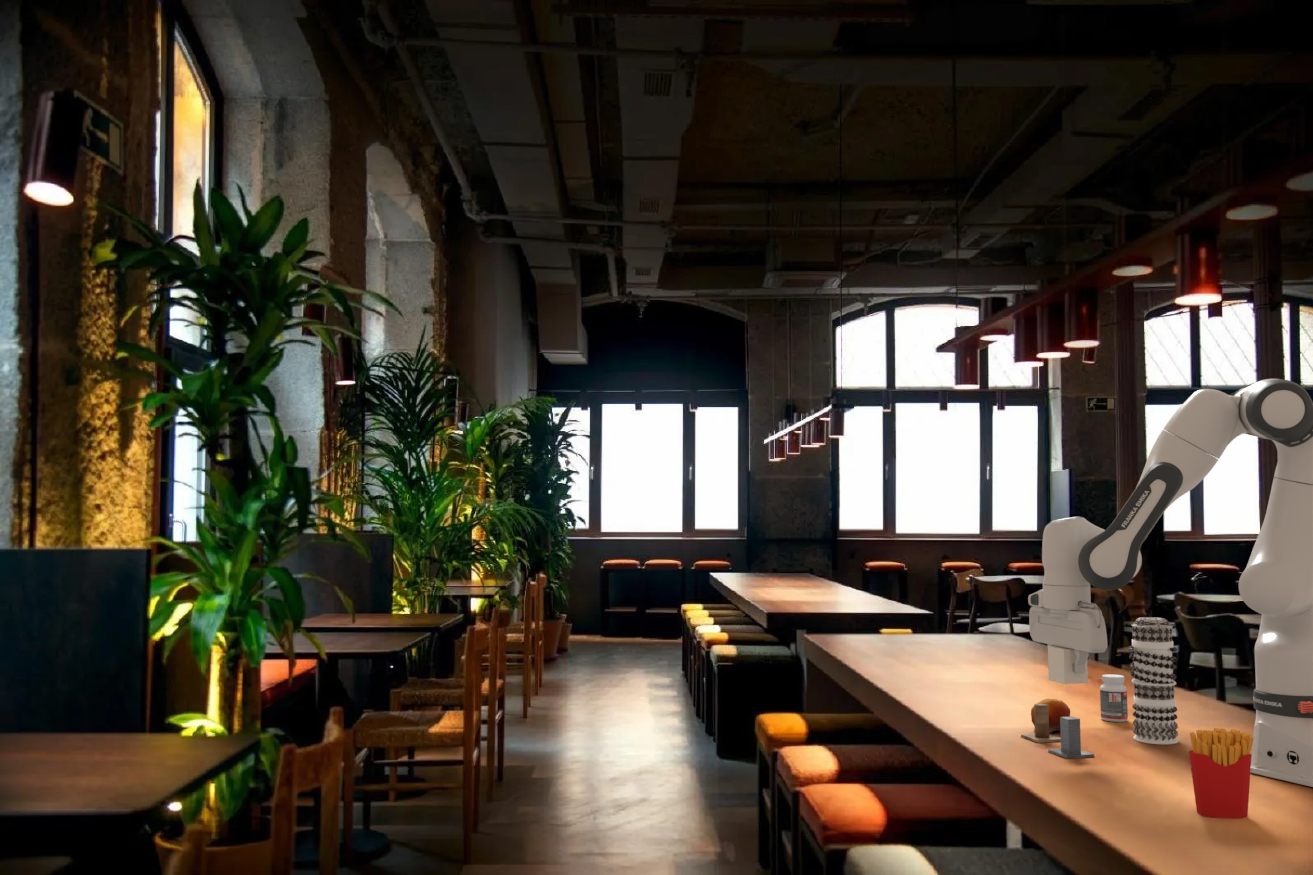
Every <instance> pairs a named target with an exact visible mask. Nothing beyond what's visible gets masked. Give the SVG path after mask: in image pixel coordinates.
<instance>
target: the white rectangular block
mask: <svg viewBox="0 0 1313 875" xmlns="http://www.w3.org/2000/svg"><path fill="white" fill-rule="evenodd" d="M1076 657H1077V656H1076V655H1075V650H1074V649H1069V648H1065V647H1060V646H1047V666H1048V667H1047V669H1048V670H1047V671H1048V672H1047V673H1048V676H1047V677H1048V678H1047V679H1048V681H1052V682H1055V683H1059V684H1064V685H1075V684H1076V685H1077V684H1089V674H1088V673H1089V670H1088V669H1089V668H1088V659H1087V661H1086V663H1085V673H1083V674H1078V673H1074V672H1073V671H1072V669H1073V667H1072V664H1073V663H1075V661H1076Z"/></svg>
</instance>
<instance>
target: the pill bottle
mask: <svg viewBox="0 0 1313 875" xmlns="http://www.w3.org/2000/svg"><path fill="white" fill-rule="evenodd" d="M1101 680H1102V682H1103V683H1102V684H1101V685H1100V686H1099V697H1100V698H1099V701H1100V702H1099V706H1100V719H1101V721H1102V720H1103V721H1106V722H1111V723H1112V722H1113V723H1124V722H1127V721H1128V720H1129V715H1128V714H1129V712H1128V690H1127V687H1126V686H1125V685H1124V683H1125V676H1124V675H1121V674H1110V673H1109V674H1107V673H1106V674H1102V675H1101Z"/></svg>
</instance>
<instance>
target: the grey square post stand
mask: <svg viewBox="0 0 1313 875" xmlns="http://www.w3.org/2000/svg"><path fill="white" fill-rule="evenodd" d="M1060 730H1061V731H1060V738H1061V741H1060V748H1052V749H1051V748H1050V749H1049V748H1048V749H1047V751H1048V752H1047V753H1050V754H1053V755H1055V756H1058V757H1061V758H1064V759H1066V760H1067V759H1079V758H1081V759H1082V758H1093V757H1095V754H1094V753H1092V752H1089V751H1087V750H1082V749H1081V748H1082V747H1081V746H1082V744H1081V742H1082V741H1081V739H1082V738H1081V718H1078V717H1076V716H1071V715H1070V717H1060Z"/></svg>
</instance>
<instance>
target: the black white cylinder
mask: <svg viewBox="0 0 1313 875" xmlns="http://www.w3.org/2000/svg"><path fill="white" fill-rule="evenodd" d="M1131 626H1132V632H1131V633H1132V634H1131V635H1132V639H1131V645H1130V646H1128V651H1129V652H1130V654H1129V655H1128V657H1129V659H1130V660H1132V662H1131V663H1129V666H1130V669H1132V670H1131V671H1130V676H1131V677H1133V678H1132V679H1131V683H1133V689H1134V690H1133V692H1134V694H1133V704H1132V706H1131V707H1132V709H1133V710H1135V711H1133V712H1132V716H1133V717H1135V719H1133V721H1132V725H1133V726H1134V728H1133V730H1132V732H1133V734H1134V735H1133V740H1134V741H1136V742H1139V743H1144V744H1152V745H1174V744H1178V743H1179V739H1178V738H1177V737H1178V736H1179V732H1178V728H1179V726H1178V723H1177V722H1176V721H1175V720H1177V719H1178V715H1177V714H1175V713H1176V712H1177V711H1178V708H1177V706H1176V698H1175V689H1174V687H1175V685H1177V682H1176V681H1175V680H1176V679H1177V675H1176V674H1174V670H1175V669H1177V668H1178V667H1177V665H1176V664H1174V663H1175V662H1177V660H1178V659H1177V658H1178V657H1176V656H1174V655H1173V653H1176V652H1177V651H1178V648H1177V647H1175V646H1174V641H1173V631H1172V630H1173V627H1174V625H1171V624H1170V622H1169V621H1168V619H1167V618H1165V617H1164V618H1163V617H1155V616H1154V617H1152V616H1151V617H1150V616H1149V617H1148V616H1147V617H1138V618H1136V619H1135V621H1134V622H1133V623H1132V624H1131Z"/></svg>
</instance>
